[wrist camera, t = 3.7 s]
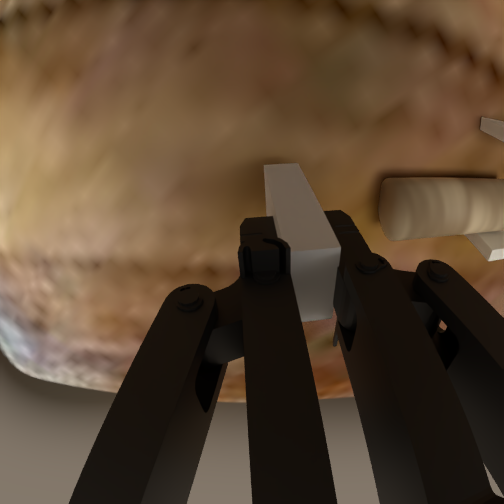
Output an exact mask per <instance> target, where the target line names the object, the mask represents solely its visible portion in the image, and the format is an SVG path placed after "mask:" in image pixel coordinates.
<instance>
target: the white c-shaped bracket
mask: <svg viewBox="0 0 504 504" xmlns="http://www.w3.org/2000/svg"><path fill="white" fill-rule="evenodd" d="M480 130H481V131H483V132H485V133H487V134H489V135H491V136H493V137H495V138H497V139H499V140H501V141H502V142H504V121H499V120H495V119H490V118H485V117H482V118H481V126H480ZM464 235H465V236H466V237H467V238H468V239H469V240H470V241H471V242H472V244H473V245H474V246H475V247H476V248H477V249H478V250H479V251H480V252H481V254H482V255H483V256H484V257H485V258H486V259H487V261H493V260H499V259H504V230H502V231H492V232H482V233H471V234H464Z"/></svg>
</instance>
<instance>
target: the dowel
mask: <svg viewBox="0 0 504 504" xmlns="http://www.w3.org/2000/svg"><path fill="white" fill-rule="evenodd" d="M378 212H379V219H380V223H381V227H382V230H383V232H384V234H385V235H386V237H387V238H388V239H389V240H391V241H399V240H409V239H420V238H430V237H440V236H451V235H461V234H471V233H482V232H492V231H502V230H504V179H488V178H443V177H414V178H386V179H385V180H384V181H383V182H382V184H381V189H380V198H379V206H378Z"/></svg>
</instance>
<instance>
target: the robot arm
mask: <svg viewBox="0 0 504 504" xmlns="http://www.w3.org/2000/svg"><path fill="white" fill-rule="evenodd" d="M264 178H265V196H266V214H267V216H266V217H254V218H245V219H244V221H243V222H242V224H241V225H240V242H241V243H240V244H241V246H240V247H239V250H238V260H239V268H240V276H239V278H238V279H237V281H236V282H235V283H233V284H232V285H230V286H229V287H226V288H224V289H222V290H218V291H215V292H213V291H212V290H211V289H209V288H208V287H207V286H204V285H200V284H187V285H184V286H181V287H178V288H176V289H175V290H173V291H172V292H171V293H170V294H169V295H168V296H167V297H166V299H165V301H164V302H163V304H162V306H161V308H160V310H159V312H158V314H157V316H156V318H155V319H154V321H153V323H152V325H151V327H150V329H149V331H148V333H147V335H146V337H145V339H144V341H143V343H142V345H141V346H140V348H139V350H138V352H137V354H136V356H135V358H134V360H133V362H132V364H131V366H130V368H129V370H128V372H127V374H126V376H125V379H124V381H123V383H122V385H121V387H120V389H119V391H118V393H117V395H116V397H115V399H114V401H113V403H112V406H111V408H110V410H109V412H108V414H107V416H106V419H105V421H104V423H103V425H102V427H101V429H100V432H99V434H98V436H97V438H96V441H95V443H94V445H93V447H92V449H91V452H90V454H89V456H88V459H87V461H86V463H85V465H84V468H83V470H82V472H81V475H80V477H79V480H78V482H77V484H76V487H75V489H74V492H73V494H72V497H71V499H70V502H69V504H187V500H188V497H189V494H190V490H191V487H192V484H193V480H194V477H195V474H196V470H197V467H198V464H199V460H200V457H201V454H202V450H203V447H204V444H205V440H206V436H207V433H208V430H209V427H210V423H211V420H212V417H213V413H214V409H215V406H216V403H217V400H218V396H219V393H220V389H221V386H222V382H223V379H224V376H225V372H226V369H227V365H228V362H229V361H232V360H235V359H238V358H241V357H243V356H244V363H245V383H246V402H247V420H248V438H249V455H250V472H251V488H252V504H337V499H336V493H335V487H334V482H333V476H332V470H331V464H330V459H329V454H328V448H327V443H326V437H325V432H324V428H323V422H322V416H321V412H320V407H319V402H318V396H317V391H316V387H315V382H314V377H313V372H312V367H311V363H310V358H309V353H308V348H307V344H306V339H305V335H304V330H303V326H302V322H305V321H314V320H322V319H330V318H332V314H333V307H334V309H335V312H336V315H337V321H336V327H335V333H334V338H333V346H337V341H338V340H339V343H340V346H341V350H342V353H343V357H344V360H345V364H346V367H347V371H348V374H349V378H350V382H351V385H352V389H353V393H354V396H355V400H356V404H357V408H358V411H359V415H360V419H361V423H362V427H363V431H364V435H365V439H366V443H367V447H368V452H369V456H370V461H371V464H372V469H373V474H374V478H375V483H376V488H377V492H378V497H379V502H380V504H504V498H502V497H500V496H497V495H496V494H495V493H494V492H493V491H492V488H491V486H490V483H489V480H488V477H487V473H486V470H485V467H484V464H485V466H486V467H487V469H488V470H489V472H490V474H491V475H492V477H493V479H494V480H495V482H496V484H497V485H498V487H499V489H500V490H501V492H502V494H503V496H504V318H503V317H502V316H501V315H500V314H499V313H498V312H497V311H496V310H495V309H494V308H493V307H492V306H491V305H490V304H489V303H488V302H487V301H486V300H485V299H484V298H483V297H482V296H481V295H480V294H479V293H478V292H477V291H476V290H475V289H474V288H473V287H472V286H471V285H470V284H469V283H468V282H467V281H466V280H465V279H464V278H463V277H462V276H461V275H459V274H458V273H457V272H456V271H455V270H454V269H453V268H452V267H450V266H449V265H448V264H446V263H444V262H441V261H439V260H431V259H430V260H424V261H422V262H421V263H419V265H418V267H417V269H416V272H409V271H401V270H395V269H393V268H392V267H391V265H390V263H389V262H388V261H387V260H386V259H385V258H384V257H382V256H380V255H378V254H375V253H372V252H371V250H370V249H369V247H368V245H367V244H366V242H365V240H364V239H363V237H362V235H361V234H360V233H359V230H358V229H357V227H356V226H355V224H354V222H353V220H352V219H351V217H350V216H349V215H347V214H346V213H344V212H343V211H341V210H334V211H323V210H322V208H321V206H320V204H319V202H318V200H317V198H316V196H315V194H314V192H313V190H312V188H311V187H310V185H309V183H308V181H307V179H306V177H305V175H304V173H303V172H302V170H301V168H300V166H299V164H298V163H287V164H271V165H264ZM441 320H442V321H443V322H444V323H445V324H446V325H447V328H446V330H443V329H441V328H440V327H439V324H440V322H441ZM483 463H484V464H483Z"/></svg>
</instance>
